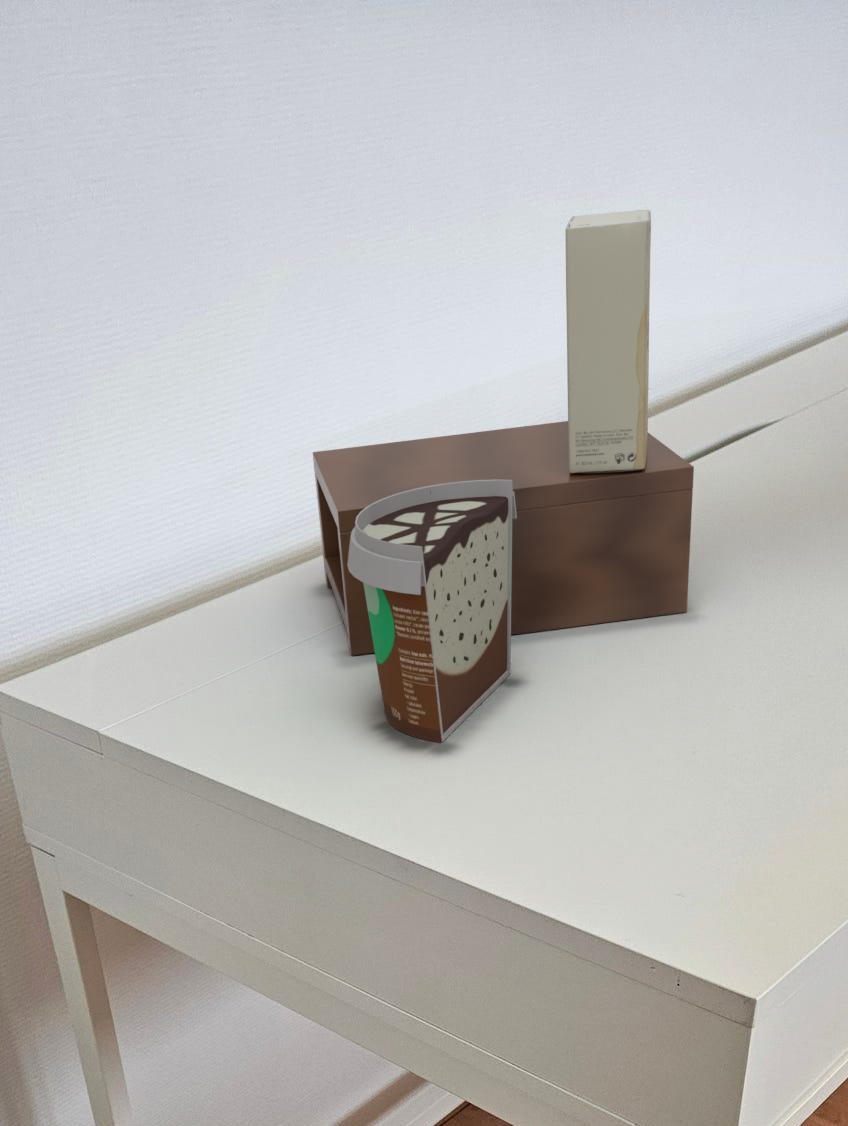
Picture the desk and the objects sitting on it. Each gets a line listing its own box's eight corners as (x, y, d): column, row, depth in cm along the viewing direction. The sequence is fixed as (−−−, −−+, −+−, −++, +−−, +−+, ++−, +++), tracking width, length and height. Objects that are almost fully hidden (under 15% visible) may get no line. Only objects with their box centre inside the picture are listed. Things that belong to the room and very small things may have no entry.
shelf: (621, 544, 94) (623, 413, 89) (687, 612, 83) (694, 466, 78) (325, 582, 93) (312, 452, 88) (351, 656, 82) (337, 511, 77)
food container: (420, 654, 81) (408, 472, 75) (520, 663, 78) (516, 476, 73) (320, 740, 72) (298, 543, 66) (429, 754, 70) (416, 550, 64)
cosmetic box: (645, 473, 78) (652, 220, 71) (564, 476, 78) (563, 227, 71) (647, 444, 83) (654, 206, 76) (571, 448, 83) (571, 212, 76)
